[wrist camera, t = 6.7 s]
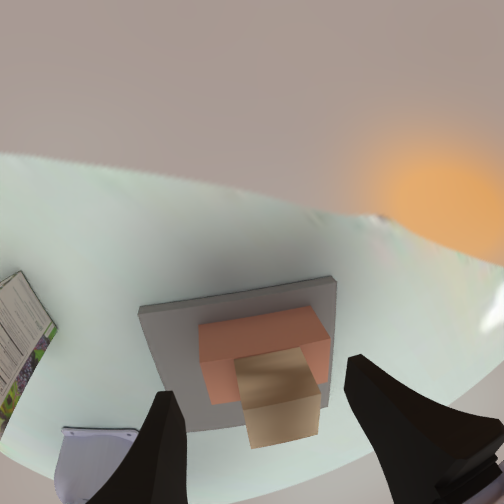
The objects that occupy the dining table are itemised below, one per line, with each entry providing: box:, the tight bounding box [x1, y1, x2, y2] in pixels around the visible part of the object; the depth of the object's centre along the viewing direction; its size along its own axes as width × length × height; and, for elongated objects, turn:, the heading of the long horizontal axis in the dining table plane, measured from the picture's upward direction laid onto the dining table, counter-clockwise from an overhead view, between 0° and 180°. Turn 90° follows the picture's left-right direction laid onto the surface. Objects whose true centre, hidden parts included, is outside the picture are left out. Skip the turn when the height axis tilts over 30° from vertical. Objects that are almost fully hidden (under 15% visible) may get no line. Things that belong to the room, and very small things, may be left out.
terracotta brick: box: [198, 305, 331, 405], centre depth 20 cm, size 8×4×4 cm, turn 96°
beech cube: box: [234, 347, 321, 449], centre depth 16 cm, size 4×4×4 cm
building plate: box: [138, 276, 337, 432], centre depth 24 cm, size 14×14×1 cm
